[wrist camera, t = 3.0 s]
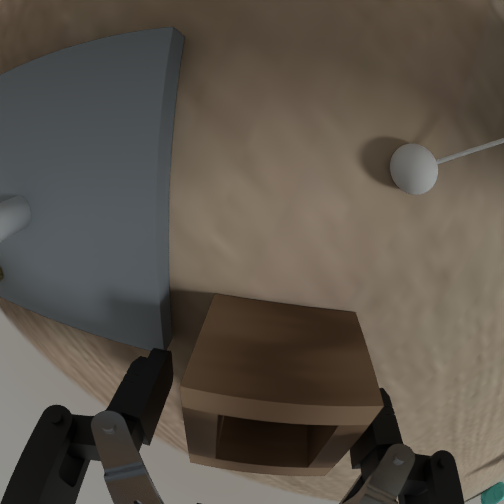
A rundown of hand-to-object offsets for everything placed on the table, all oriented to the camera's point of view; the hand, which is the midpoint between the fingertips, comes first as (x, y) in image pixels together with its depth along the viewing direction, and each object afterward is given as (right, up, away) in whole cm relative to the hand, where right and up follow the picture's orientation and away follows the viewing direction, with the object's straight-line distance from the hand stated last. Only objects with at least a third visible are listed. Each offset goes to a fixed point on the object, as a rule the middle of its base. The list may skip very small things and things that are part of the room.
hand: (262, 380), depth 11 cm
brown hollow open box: (0, -2, +3) cm, 3 cm away
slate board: (-10, +8, -1) cm, 13 cm away
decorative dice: (+80, -73, +26) cm, 111 cm away
